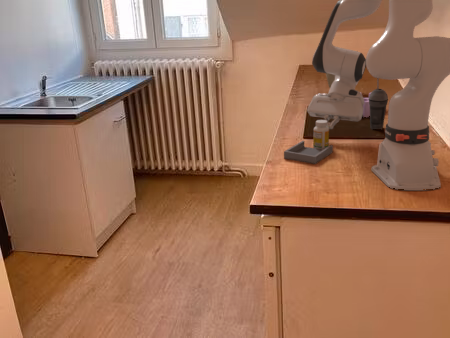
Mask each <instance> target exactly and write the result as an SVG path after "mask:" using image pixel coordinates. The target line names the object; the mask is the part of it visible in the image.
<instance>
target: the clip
mask: <svg viewBox="0 0 450 338" xmlns="http://www.w3.org/2000/svg"><path fill="white" fill-rule="evenodd" d="M359 92H360V93H361V94H362V92H361V91H359ZM371 92H372V91H371ZM371 92H369V93H368V97H363V98H364V105H363V107H364V110H363V115H362V117H363V118H364V117H366V118H370V117H369V116H370V105H369V100H368V99H369V96H370V94H371ZM362 95H363V94H362Z"/></svg>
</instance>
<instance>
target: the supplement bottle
mask: <svg viewBox="0 0 450 338" xmlns="http://www.w3.org/2000/svg"><path fill="white" fill-rule="evenodd" d="M312 137H313V144H312V148H316V149H322V150H324V149H325V148H327V147H328V146H330V145H329V144H330V143H329V142H330V141H329V139H330V129H329V128H328V127H327V121H326V120H325V119H317V120H316V121H315V126H314V127H313V136H312Z"/></svg>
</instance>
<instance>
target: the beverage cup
mask: <svg viewBox="0 0 450 338" xmlns="http://www.w3.org/2000/svg"><path fill="white" fill-rule="evenodd" d="M379 79H380V78H376V80H377V81H376V83H377V85H376V89H374V90H372V91H371V94H370V96H369V95H368V98H369V99H368V100H369V105H370V117H369V124H370V129H371V130H373V129H381V130H383V129H382V128H383V126H384V123H385V118H386V117H385V116H386V111H387V105H388V103H389V102H388V101H389V96H388V93H387V92H386V90H384V89H381V88H379V86H380V85H379Z"/></svg>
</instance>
